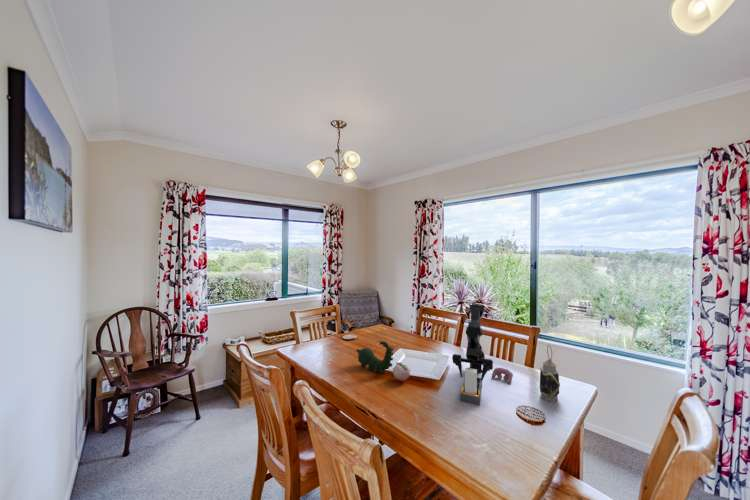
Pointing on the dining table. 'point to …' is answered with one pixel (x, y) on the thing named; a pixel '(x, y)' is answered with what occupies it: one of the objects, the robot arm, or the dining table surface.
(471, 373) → the light grey block
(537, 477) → the dining table surface
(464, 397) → the rack
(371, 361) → the toy figurine
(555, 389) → the lantern
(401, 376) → the decorative fruit
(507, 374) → the video game controller
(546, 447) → the dining table surface
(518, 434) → the dining table surface
